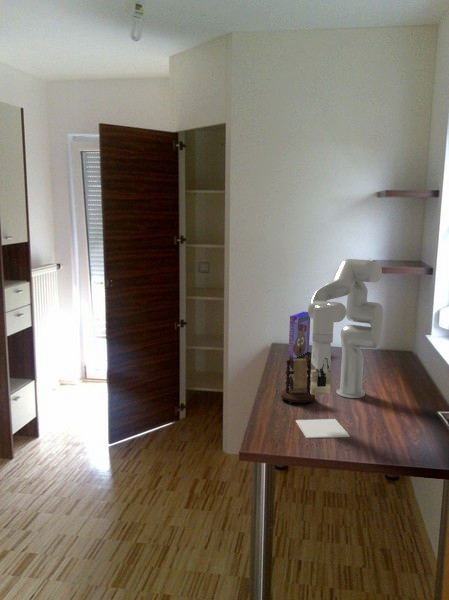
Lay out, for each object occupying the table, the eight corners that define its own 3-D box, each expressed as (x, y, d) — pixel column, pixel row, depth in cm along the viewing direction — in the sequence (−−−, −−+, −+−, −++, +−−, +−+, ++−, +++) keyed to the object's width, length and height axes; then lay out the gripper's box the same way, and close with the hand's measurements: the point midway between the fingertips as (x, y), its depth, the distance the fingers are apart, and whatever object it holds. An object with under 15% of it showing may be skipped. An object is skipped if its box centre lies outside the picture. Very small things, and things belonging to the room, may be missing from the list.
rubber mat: (295, 421, 205) (295, 420, 205) (335, 420, 207) (335, 418, 207) (306, 438, 189) (306, 437, 189) (349, 437, 191) (349, 435, 191)
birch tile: (310, 392, 201) (310, 369, 199) (327, 392, 202) (328, 369, 200) (311, 394, 198) (312, 371, 197) (330, 394, 199) (330, 371, 198)
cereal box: (296, 358, 297) (297, 316, 293) (288, 357, 299) (290, 315, 296) (308, 352, 311) (310, 312, 307) (301, 350, 314) (303, 311, 310)
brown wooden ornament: (285, 406, 221) (287, 360, 218) (276, 394, 235) (278, 351, 232) (319, 405, 223) (321, 359, 220) (308, 393, 238) (310, 350, 235)
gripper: (307, 333, 204) (304, 378, 207) (319, 342, 188) (316, 392, 191) (325, 332, 205) (323, 378, 208) (339, 342, 189) (336, 391, 192)
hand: (320, 384), depth 199 cm, fingers closed on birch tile, 2 cm apart
